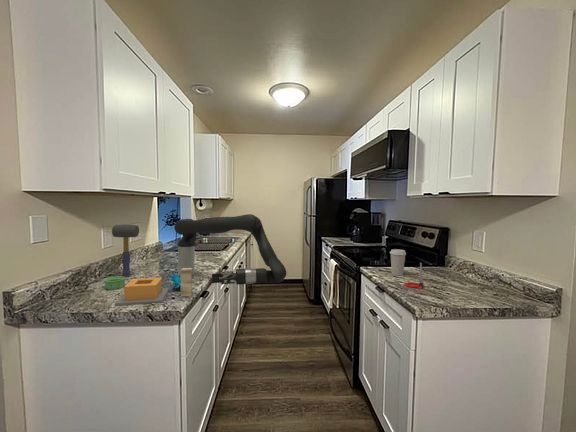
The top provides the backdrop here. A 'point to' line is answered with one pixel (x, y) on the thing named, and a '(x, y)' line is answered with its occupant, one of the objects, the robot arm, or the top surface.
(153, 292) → the orange square frame
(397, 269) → the coffee cup
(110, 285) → the ramekin
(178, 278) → the gear
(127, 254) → the rubber mallet
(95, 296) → the top surface
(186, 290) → the tall wooden block
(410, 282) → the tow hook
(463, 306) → the top surface
